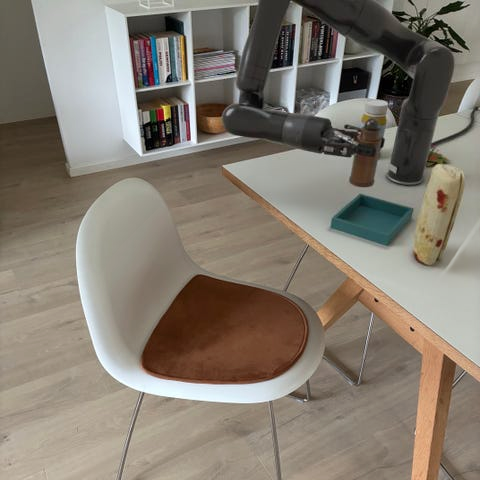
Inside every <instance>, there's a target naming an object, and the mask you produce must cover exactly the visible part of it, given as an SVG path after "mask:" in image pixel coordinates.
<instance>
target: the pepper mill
mask: <svg viewBox="0 0 480 480" xmlns="http://www.w3.org/2000/svg"><path fill="white" fill-rule="evenodd" d="M380 131H381V129H380V128H379V122H378V120H377V119H375V118H370V119H368V120H367V121H366V122H365V125H364V126H363V127H362V128H361V134H360V135H358V136H357V141H356V142H358V143H359V144H360V143H363V144H368V145H373V146H376V147H377V152H376V156H375V157H368V156H363V155H359V154H357V155H353V159H352V164H351V170H350V176H349V177H348V182H349V184H350V185H351V186H354V187H358V188H371V187H373V186H374V185H375V181H376V179H375V176H376V171H377V167H378V161H379V156H380V155H379V151H380V146H381V141H382V138H381V137H379V136H380Z"/></svg>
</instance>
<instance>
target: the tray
mask: <svg viewBox="0 0 480 480" xmlns="http://www.w3.org/2000/svg"><path fill="white" fill-rule="evenodd" d="M414 210H415V208H413V207H409V206H406V205H403V204H400V203H395V202H391V201H388V200H384V199H381V198H378V197H374V196H371V195H367V194H364V193H359V194H358V195H356V196H355V197H354V198H353V199H352V200H350V201H349V202H348V203H347V204H346V205H345V206H344V207H343V208H341V209H339V211H338V212H336V214H335V215H333V216H332V217H331V221H330V229H332V230H335V231H339V232H341V233H344V234H347V235H351V236H353V237H357V238H360V239H363V240H367V241H370V242H373V243H376V244H379V245H382V246H385V247H388V246H389V244H390V243H391V242H392V241H393V240H394V239H395V238H396V237H397V236H398V234H399V233H400V232H401V231H402V230H403V229H404V228H405V226H406V225H407V224H409V222H410V221H411V220H412V218H413V213H414Z"/></svg>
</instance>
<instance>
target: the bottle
mask: <svg viewBox="0 0 480 480" xmlns="http://www.w3.org/2000/svg"><path fill="white" fill-rule="evenodd" d="M388 108H389V102H388V101H386V100H383V99H374V98H373V99H372V98H371V99H367V100H366V101H365V104H364V111H363V115H362V117H361V120H360V126H359V128H362V127H363V126H364V125H365V122H366V121H367V120H368V119H370V118H375V119H377V120H378V122H379V128H380V129H381V131H380V136H379V137H383V138H385V137H384V136H385V131H386V127H387V121H388V120H387V112H388ZM381 152H382V148H381V149H380V151H379V156H380V155H381Z"/></svg>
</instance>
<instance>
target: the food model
mask: <svg viewBox="0 0 480 480" xmlns="http://www.w3.org/2000/svg"><path fill="white" fill-rule="evenodd" d="M465 186H466V178H465V174H464V171H463V170H461V169H460V168H458V167H456V166H453V165H450V164H444V163H443V164H439V163H437V164H435V166H433V168H432V170H431V173H430V176H429V179H428V181H427V185H426V188H425V191H424V195H423V198H422V202H421V206H420V209H419V213H418V216H417V220H416V224H415V230H414V235H413V236H414V237H413V245H412V253H413V257H414V260H415V261H416V262H417V263H419V264H420V265H422V266H428V267H430V266H433V265H434V264H435V263H436V261H437V260H438V261H439V260H441V258H442V257H444V256H443V255H444V254H445V251H446V248H447V246H448V243H449V240H450V236H451V233H452V231H453V228H454V225H455V222H456V219H457V214H458V212H459V207H460V204H461V201H462V198H463V195H464V190H465Z"/></svg>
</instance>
